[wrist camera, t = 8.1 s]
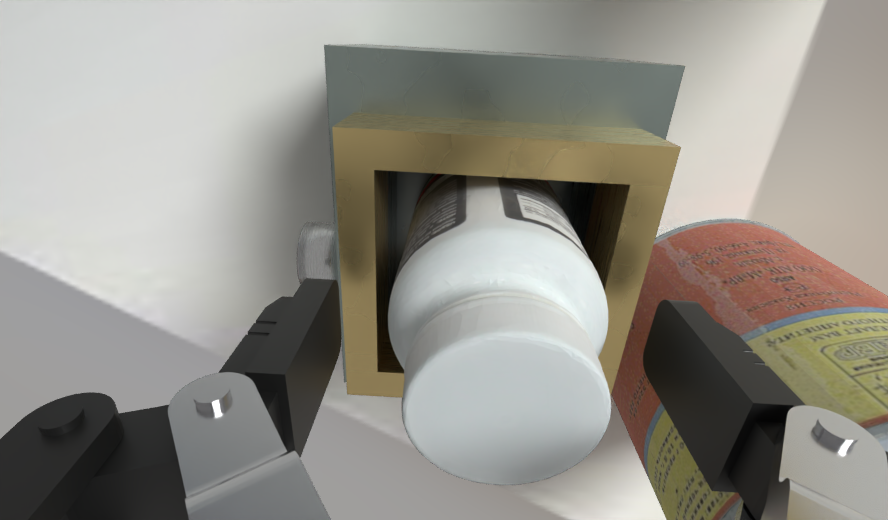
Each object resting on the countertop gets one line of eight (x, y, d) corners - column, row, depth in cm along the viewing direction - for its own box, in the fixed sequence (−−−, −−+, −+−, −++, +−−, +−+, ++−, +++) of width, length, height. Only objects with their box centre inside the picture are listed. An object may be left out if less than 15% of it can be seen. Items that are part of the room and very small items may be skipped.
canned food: (715, 428, 26) (896, 697, 15) (548, 361, 24) (621, 613, 14) (869, 275, 22) (1279, 505, 11) (677, 179, 20) (942, 341, 9)
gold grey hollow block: (314, 41, 18) (206, 40, 10) (615, 58, 18) (736, 71, 10) (331, 300, 23) (269, 428, 15) (564, 313, 23) (617, 448, 15)
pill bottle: (433, 289, 19) (404, 520, 10) (398, 165, 16) (319, 326, 8) (565, 266, 18) (657, 495, 9) (548, 132, 15) (651, 270, 7)
